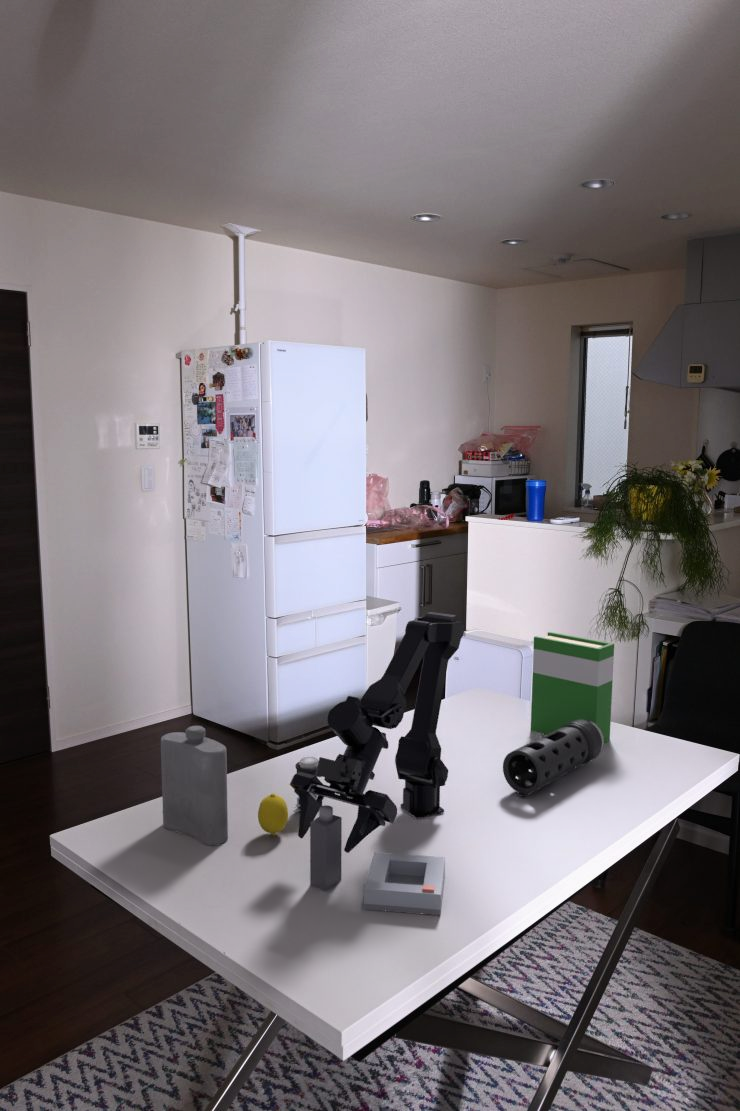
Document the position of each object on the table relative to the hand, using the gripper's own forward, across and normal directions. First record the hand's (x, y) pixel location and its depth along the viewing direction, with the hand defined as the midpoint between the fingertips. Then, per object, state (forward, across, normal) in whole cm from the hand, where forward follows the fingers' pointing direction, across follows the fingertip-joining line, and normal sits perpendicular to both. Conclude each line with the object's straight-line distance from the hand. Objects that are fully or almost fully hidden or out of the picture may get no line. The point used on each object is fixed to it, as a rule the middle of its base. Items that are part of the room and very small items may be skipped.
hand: (322, 844), depth 143 cm
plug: (+4, 0, +6) cm, 7 cm away
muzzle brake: (-40, +17, +50) cm, 66 cm away
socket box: (+1, +13, +9) cm, 15 cm away
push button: (-10, -19, +21) cm, 30 cm away
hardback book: (-60, +10, +70) cm, 92 cm away
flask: (+3, -31, +8) cm, 32 cm away
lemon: (-2, -18, +12) cm, 22 cm away
